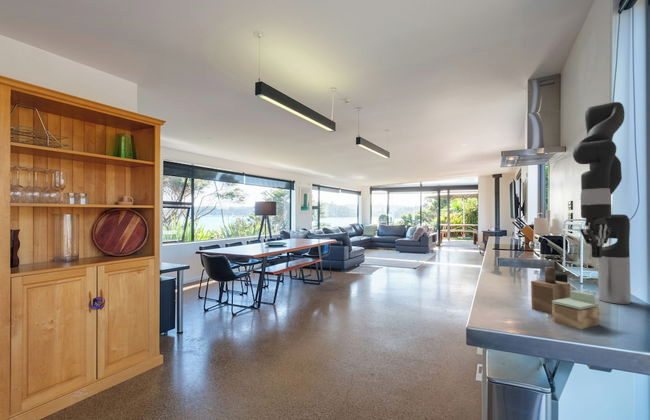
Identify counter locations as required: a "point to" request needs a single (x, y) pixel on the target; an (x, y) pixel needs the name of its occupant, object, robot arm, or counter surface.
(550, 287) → the cover
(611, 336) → the counter surface
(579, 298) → the lid
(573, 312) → the oak box
